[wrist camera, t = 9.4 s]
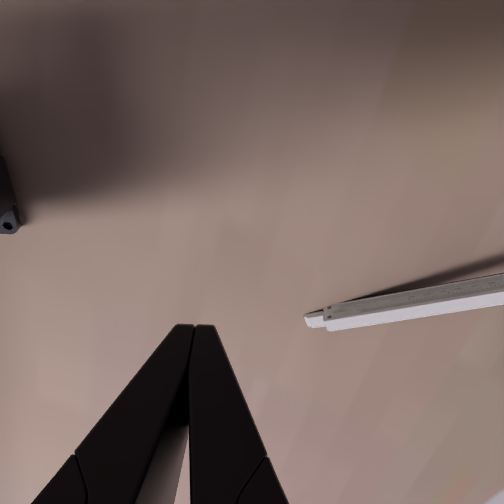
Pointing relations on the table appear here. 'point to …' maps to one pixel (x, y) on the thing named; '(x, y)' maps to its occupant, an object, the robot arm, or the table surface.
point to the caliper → (411, 304)
